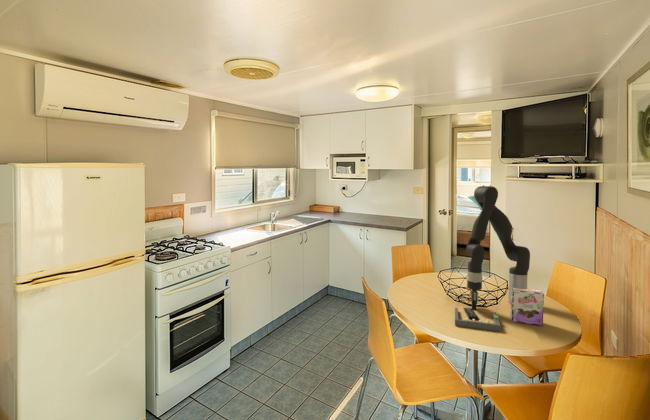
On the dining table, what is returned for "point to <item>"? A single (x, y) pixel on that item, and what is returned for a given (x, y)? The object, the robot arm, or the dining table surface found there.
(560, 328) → the dining table surface
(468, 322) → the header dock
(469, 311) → the multiport hub
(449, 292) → the dining table surface
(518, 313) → the candy box
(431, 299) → the dining table surface
